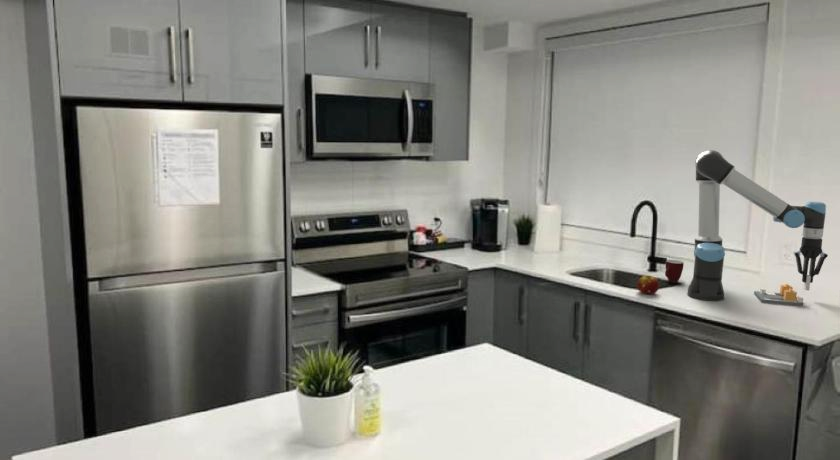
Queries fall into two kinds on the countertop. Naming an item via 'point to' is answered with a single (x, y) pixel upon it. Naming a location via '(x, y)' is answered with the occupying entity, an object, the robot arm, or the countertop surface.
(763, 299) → the switch board
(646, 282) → the fruit
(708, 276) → the robot arm
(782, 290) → the tab back
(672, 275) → the mug
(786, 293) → the tab front
